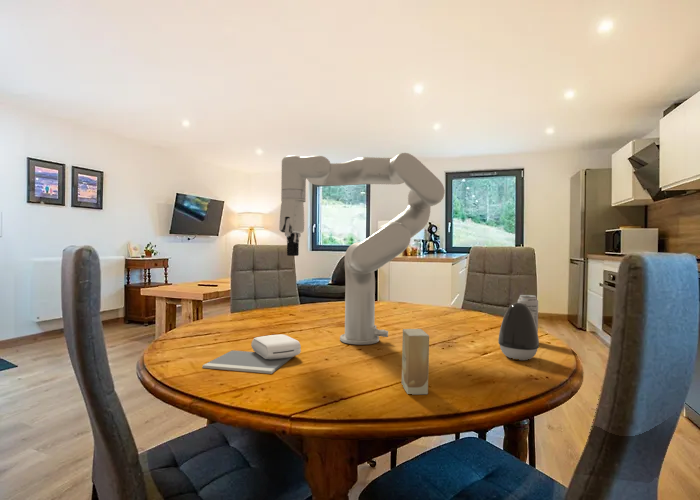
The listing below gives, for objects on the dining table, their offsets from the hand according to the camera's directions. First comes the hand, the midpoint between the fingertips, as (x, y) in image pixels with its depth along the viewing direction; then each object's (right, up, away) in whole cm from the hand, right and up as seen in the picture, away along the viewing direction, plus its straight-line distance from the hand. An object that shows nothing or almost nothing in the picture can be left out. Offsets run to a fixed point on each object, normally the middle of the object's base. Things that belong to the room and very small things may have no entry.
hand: (292, 255), depth 118 cm
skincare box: (+31, -28, -38) cm, 57 cm away
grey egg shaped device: (+64, -28, -14) cm, 71 cm away
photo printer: (-5, -24, -10) cm, 27 cm away
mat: (-8, -27, -21) cm, 35 cm away
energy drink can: (+75, -28, +4) cm, 80 cm away
